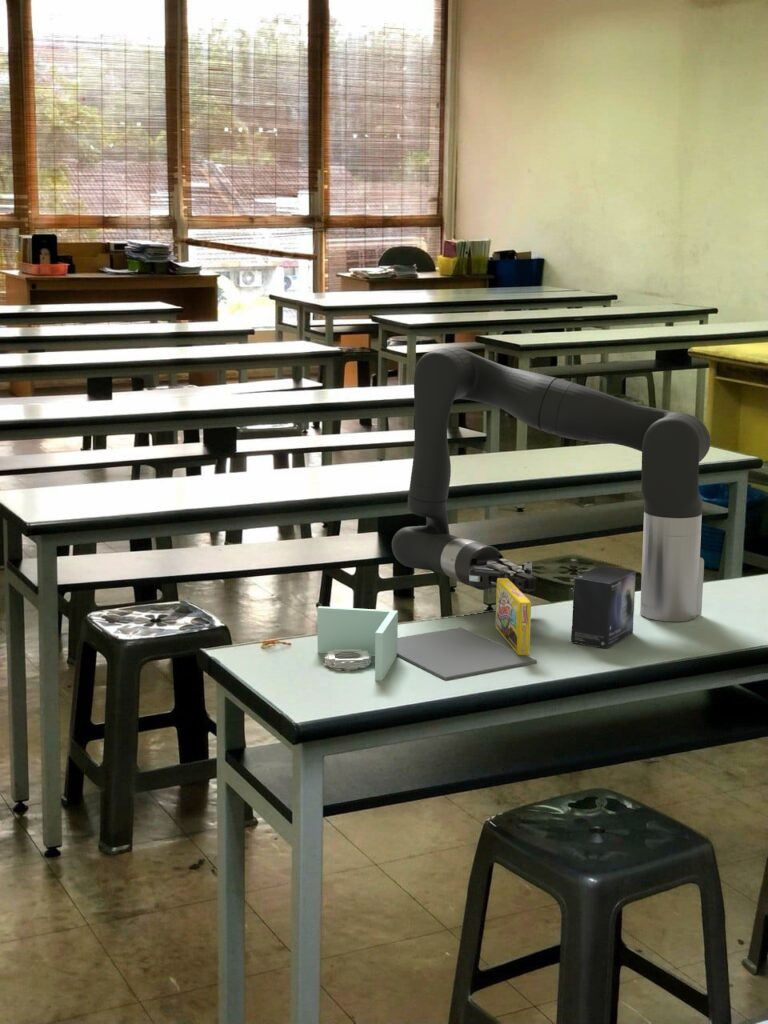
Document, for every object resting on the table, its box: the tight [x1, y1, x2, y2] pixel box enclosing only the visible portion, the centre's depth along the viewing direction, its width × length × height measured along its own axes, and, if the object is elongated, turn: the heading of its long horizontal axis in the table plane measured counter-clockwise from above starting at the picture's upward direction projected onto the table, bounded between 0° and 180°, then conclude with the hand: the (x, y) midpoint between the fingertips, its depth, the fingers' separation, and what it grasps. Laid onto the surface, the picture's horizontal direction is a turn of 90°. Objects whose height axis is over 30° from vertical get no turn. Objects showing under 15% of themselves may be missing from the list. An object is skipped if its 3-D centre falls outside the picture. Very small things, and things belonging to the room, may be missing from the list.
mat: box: [397, 627, 538, 681], centre depth 199 cm, size 16×20×1 cm
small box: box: [570, 564, 637, 649], centre depth 206 cm, size 11×6×10 cm, turn 147°
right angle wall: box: [316, 605, 399, 682], centre depth 192 cm, size 12×12×8 cm
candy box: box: [495, 578, 532, 656], centre depth 203 cm, size 16×2×8 cm, turn 7°
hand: (532, 584), depth 211 cm, fingers closed
